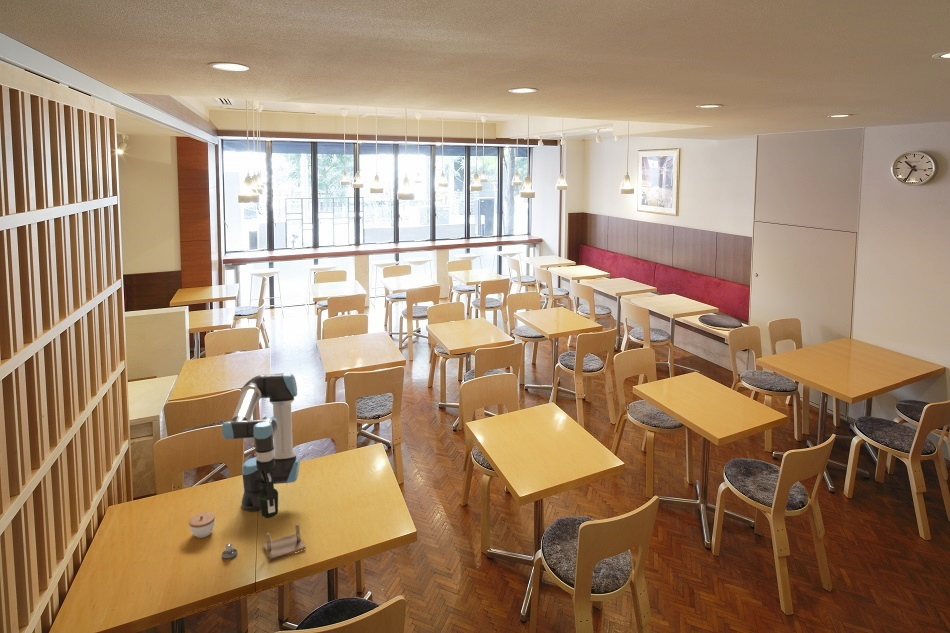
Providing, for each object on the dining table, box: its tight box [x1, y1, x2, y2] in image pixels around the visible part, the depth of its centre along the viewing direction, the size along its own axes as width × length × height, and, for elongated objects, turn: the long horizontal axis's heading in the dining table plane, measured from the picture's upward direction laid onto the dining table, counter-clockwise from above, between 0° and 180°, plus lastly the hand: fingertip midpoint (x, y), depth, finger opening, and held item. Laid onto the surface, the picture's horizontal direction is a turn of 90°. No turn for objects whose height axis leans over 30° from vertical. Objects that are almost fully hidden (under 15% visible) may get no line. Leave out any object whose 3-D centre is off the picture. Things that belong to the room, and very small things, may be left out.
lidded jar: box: [188, 511, 216, 539], centre depth 264 cm, size 11×11×9 cm
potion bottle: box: [258, 477, 279, 519], centre depth 249 cm, size 8×8×18 cm
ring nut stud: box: [221, 542, 238, 561], centre depth 249 cm, size 6×6×5 cm
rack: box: [262, 523, 307, 563], centre depth 253 cm, size 12×15×10 cm
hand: (269, 507), depth 250 cm, fingers closed on potion bottle, 8 cm apart
